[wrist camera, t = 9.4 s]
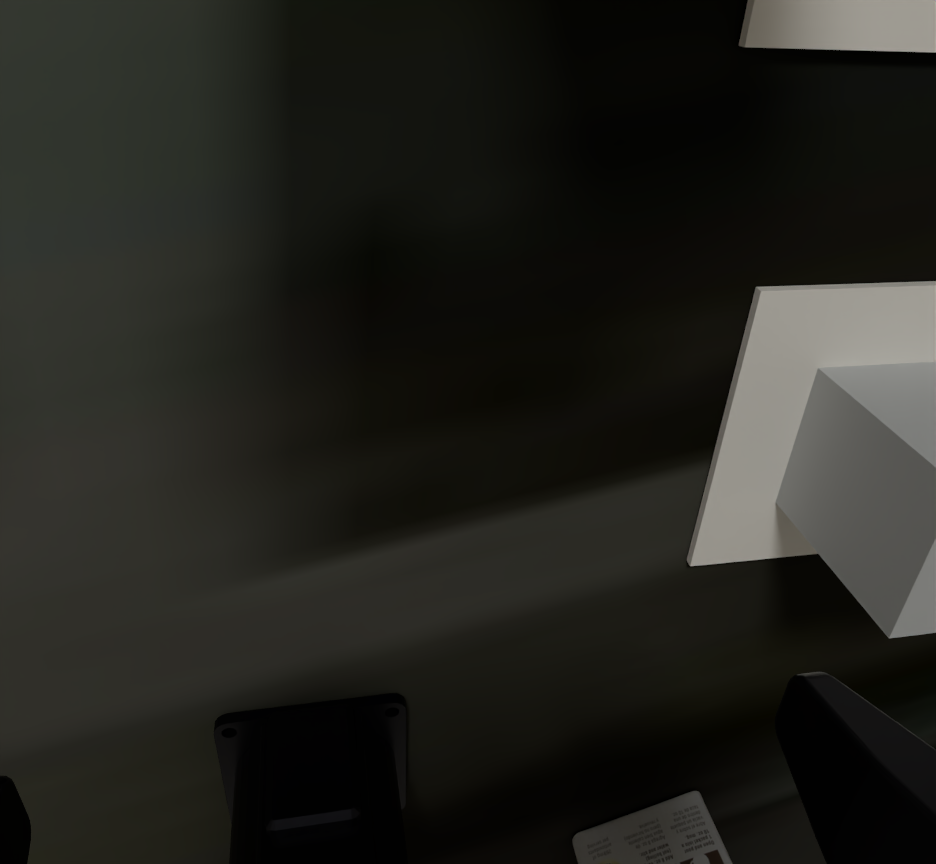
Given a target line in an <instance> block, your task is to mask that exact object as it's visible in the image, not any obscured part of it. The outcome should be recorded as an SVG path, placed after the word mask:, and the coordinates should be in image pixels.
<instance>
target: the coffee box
mask: <svg viewBox="0 0 936 864" xmlns="http://www.w3.org/2000/svg"><path fill="white" fill-rule="evenodd" d="M572 842H573V847H574V850H575V854H576V858H577V861H578V864H733V863H732V861H731V859H730V857H729V855H728V853H727V850H726V848H725V846H724V844H723V842H722V840H721V838H720V835H719V833H718V831H717V829H716V827H715V825H714V822H713V820H712V818H711V816H710V814H709V812H708V810H707V808H706V805H705V803H704V801H703V799H702V796H701V794H700V792H698V791H691V792H688V793H685V794H683V795H680V796H677V797H675V798H672V799H669V800H667V801H664V802H662V803H659V804H656V805H654V806H651V807H648V808H645V809H642V810H640V811H637V812H634V813H631V814H629V815H626V816H623V817H620V818H618V819H615V820H612V821H609V822H607V823H604V824H601V825H599V826H596V827H593V828H590V829H587V830H584V831H581V832H578V833H577V834H576V835H575V836H574V837H573V839H572Z"/></svg>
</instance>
